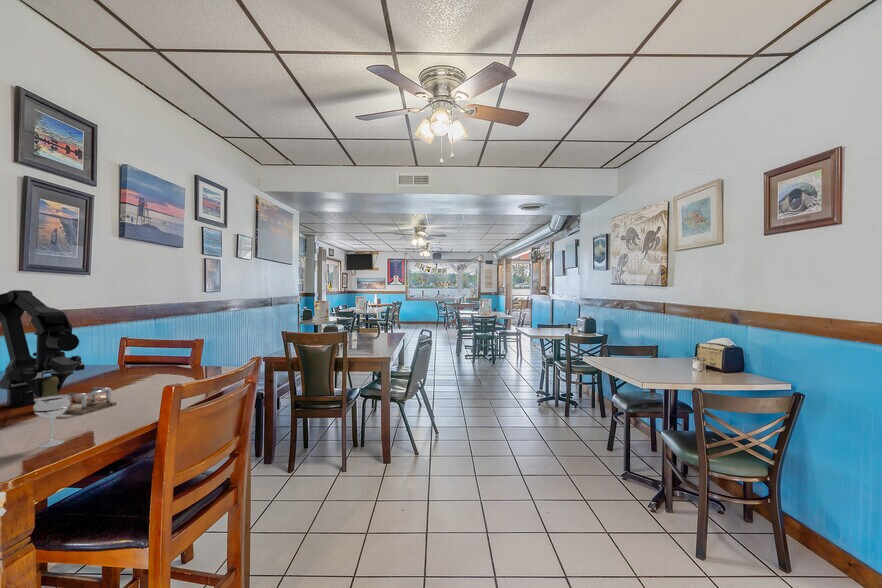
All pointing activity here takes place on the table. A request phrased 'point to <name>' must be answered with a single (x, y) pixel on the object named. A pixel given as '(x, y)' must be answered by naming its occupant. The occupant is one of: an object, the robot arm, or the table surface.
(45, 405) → the wineglass
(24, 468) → the table surface
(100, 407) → the base
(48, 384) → the olive green tapered cylinder
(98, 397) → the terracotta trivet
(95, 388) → the silver twin cylinder holder
